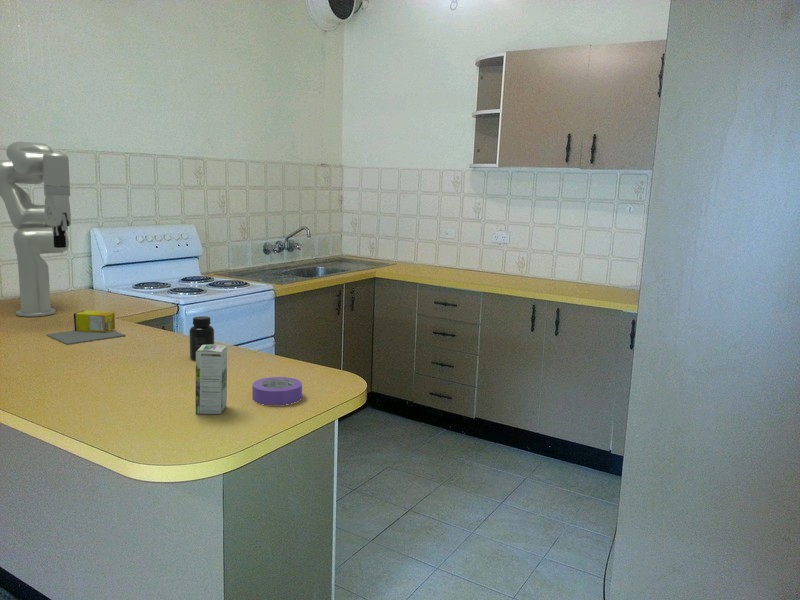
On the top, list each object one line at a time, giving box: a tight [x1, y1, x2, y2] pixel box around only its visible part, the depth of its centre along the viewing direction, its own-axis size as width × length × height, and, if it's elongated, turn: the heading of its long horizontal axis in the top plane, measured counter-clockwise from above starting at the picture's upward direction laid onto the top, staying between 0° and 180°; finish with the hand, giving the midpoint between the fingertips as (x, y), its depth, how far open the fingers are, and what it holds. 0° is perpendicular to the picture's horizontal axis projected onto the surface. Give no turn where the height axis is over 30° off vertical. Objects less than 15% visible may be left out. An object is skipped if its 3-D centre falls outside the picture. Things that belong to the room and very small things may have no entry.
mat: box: [45, 329, 126, 346], centre depth 200 cm, size 16×18×1 cm
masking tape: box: [251, 376, 303, 406], centre depth 149 cm, size 12×12×4 cm
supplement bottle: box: [189, 315, 215, 361], centre depth 180 cm, size 7×7×12 cm
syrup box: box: [195, 344, 228, 415], centre depth 138 cm, size 6×6×14 cm
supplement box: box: [73, 309, 116, 333], centre depth 206 cm, size 6×6×11 cm
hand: (60, 247), depth 207 cm, fingers closed
